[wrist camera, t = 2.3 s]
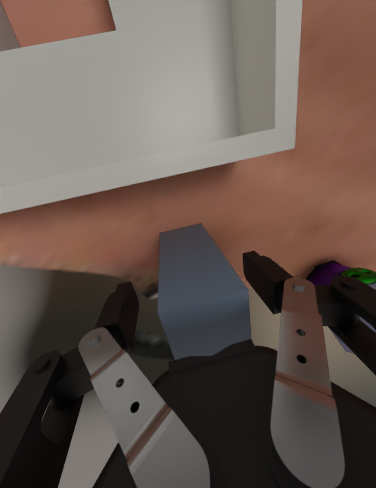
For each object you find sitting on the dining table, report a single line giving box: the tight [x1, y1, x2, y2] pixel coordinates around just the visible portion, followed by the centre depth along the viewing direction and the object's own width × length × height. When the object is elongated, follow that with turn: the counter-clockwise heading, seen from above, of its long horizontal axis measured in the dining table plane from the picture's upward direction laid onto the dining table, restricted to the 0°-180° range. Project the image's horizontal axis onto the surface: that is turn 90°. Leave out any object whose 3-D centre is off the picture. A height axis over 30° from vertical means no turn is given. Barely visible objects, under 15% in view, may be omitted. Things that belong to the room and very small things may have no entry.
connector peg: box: [158, 223, 251, 360], centre depth 13 cm, size 4×4×10 cm
